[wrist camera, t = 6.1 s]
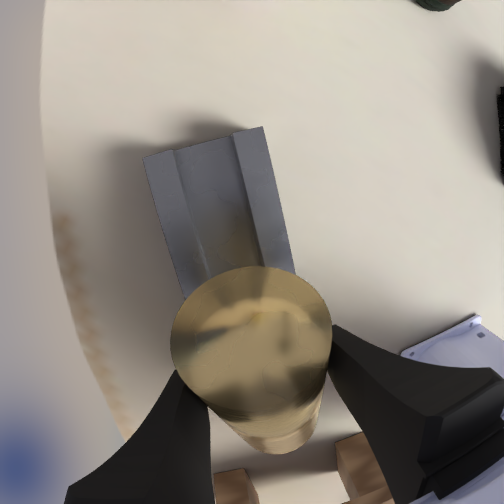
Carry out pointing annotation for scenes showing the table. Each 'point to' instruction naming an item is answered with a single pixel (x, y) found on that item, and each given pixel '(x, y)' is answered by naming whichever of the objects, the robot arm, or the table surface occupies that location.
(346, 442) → the wooden bridge block
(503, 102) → the cpu cooler
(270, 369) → the brass cylinder
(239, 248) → the v block
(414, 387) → the robot arm
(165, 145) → the table surface
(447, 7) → the stick grenade
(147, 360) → the table surface
